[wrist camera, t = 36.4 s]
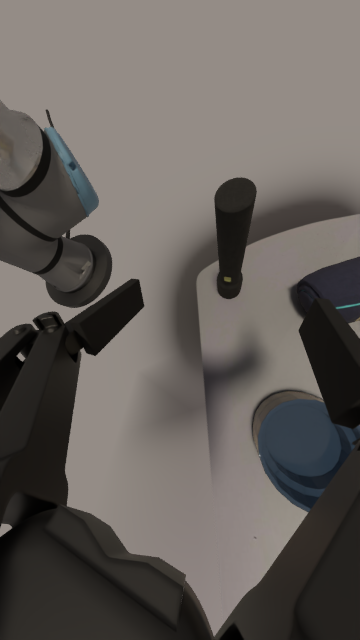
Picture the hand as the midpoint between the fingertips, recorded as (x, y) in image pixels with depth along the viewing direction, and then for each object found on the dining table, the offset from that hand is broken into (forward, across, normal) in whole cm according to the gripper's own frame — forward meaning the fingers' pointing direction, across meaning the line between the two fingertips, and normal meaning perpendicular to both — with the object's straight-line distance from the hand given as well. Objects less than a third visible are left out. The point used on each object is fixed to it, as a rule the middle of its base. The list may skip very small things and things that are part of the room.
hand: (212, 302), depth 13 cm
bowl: (+6, +16, -28) cm, 33 cm away
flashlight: (+25, 0, -10) cm, 27 cm away
